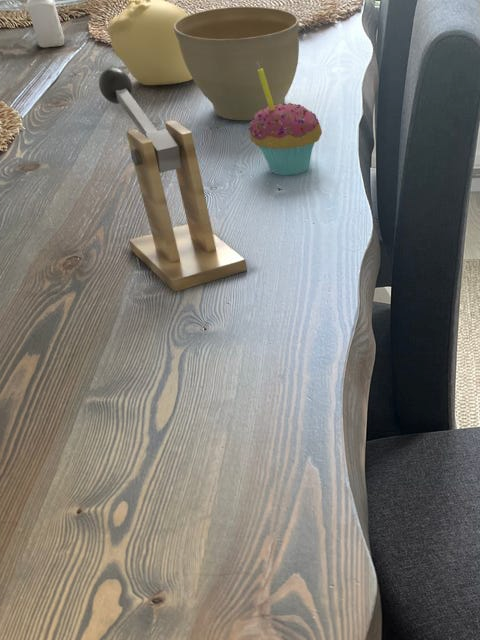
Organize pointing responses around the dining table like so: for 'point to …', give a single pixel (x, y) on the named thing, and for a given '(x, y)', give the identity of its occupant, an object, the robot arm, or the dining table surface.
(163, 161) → the knife lever
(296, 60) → the planter bowl
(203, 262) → the wooden lever stand
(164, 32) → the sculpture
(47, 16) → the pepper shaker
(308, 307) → the dining table surface
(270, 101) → the cupcake
